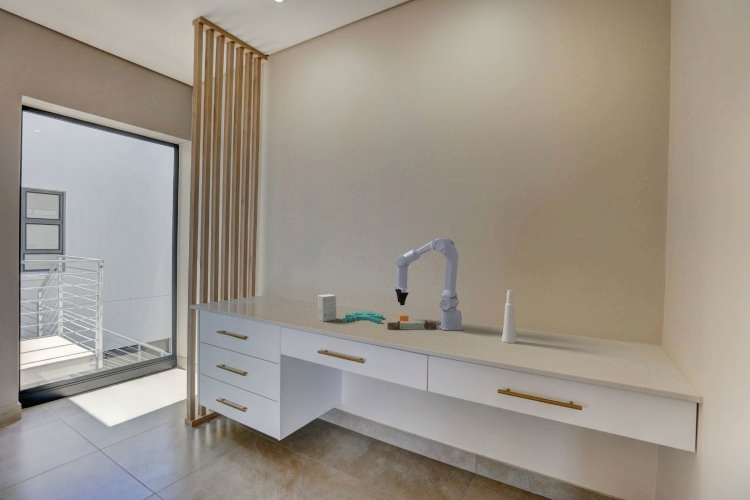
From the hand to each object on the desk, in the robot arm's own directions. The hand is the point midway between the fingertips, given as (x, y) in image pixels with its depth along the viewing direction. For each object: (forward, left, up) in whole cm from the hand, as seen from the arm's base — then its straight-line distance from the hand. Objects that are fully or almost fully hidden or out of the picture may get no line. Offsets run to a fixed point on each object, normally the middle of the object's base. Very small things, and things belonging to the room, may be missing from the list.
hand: (401, 303), depth 187 cm
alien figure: (+19, -4, -9) cm, 22 cm away
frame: (-3, +18, -9) cm, 20 cm away
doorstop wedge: (0, +9, -9) cm, 13 cm away
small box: (+39, -2, -9) cm, 40 cm away
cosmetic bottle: (-41, +40, -9) cm, 58 cm away
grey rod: (-3, +18, -8) cm, 20 cm away
